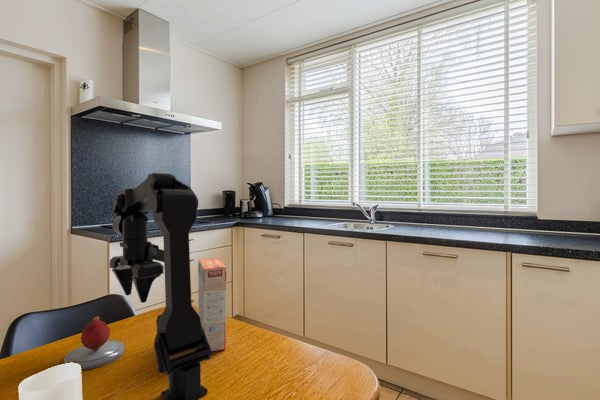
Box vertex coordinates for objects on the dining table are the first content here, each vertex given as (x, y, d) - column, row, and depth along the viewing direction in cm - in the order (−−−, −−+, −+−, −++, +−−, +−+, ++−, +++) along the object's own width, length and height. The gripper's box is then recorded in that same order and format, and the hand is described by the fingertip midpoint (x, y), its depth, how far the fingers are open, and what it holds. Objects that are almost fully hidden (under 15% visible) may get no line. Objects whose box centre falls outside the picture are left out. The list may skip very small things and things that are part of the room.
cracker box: (227, 350, 79) (227, 266, 79) (202, 354, 77) (202, 268, 77) (219, 328, 92) (219, 256, 92) (197, 332, 90) (197, 258, 90)
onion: (95, 357, 73) (95, 322, 73) (74, 355, 74) (74, 320, 74) (115, 346, 78) (115, 313, 78) (95, 343, 80) (95, 312, 80)
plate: (132, 355, 77) (132, 348, 77) (73, 376, 68) (72, 369, 68) (113, 340, 85) (113, 335, 85) (57, 358, 76) (57, 351, 76)
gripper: (183, 238, 82) (183, 298, 83) (150, 233, 94) (150, 285, 95) (138, 242, 74) (139, 309, 74) (108, 236, 86) (109, 294, 86)
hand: (135, 298), depth 82 cm, fingers open, 9 cm apart
